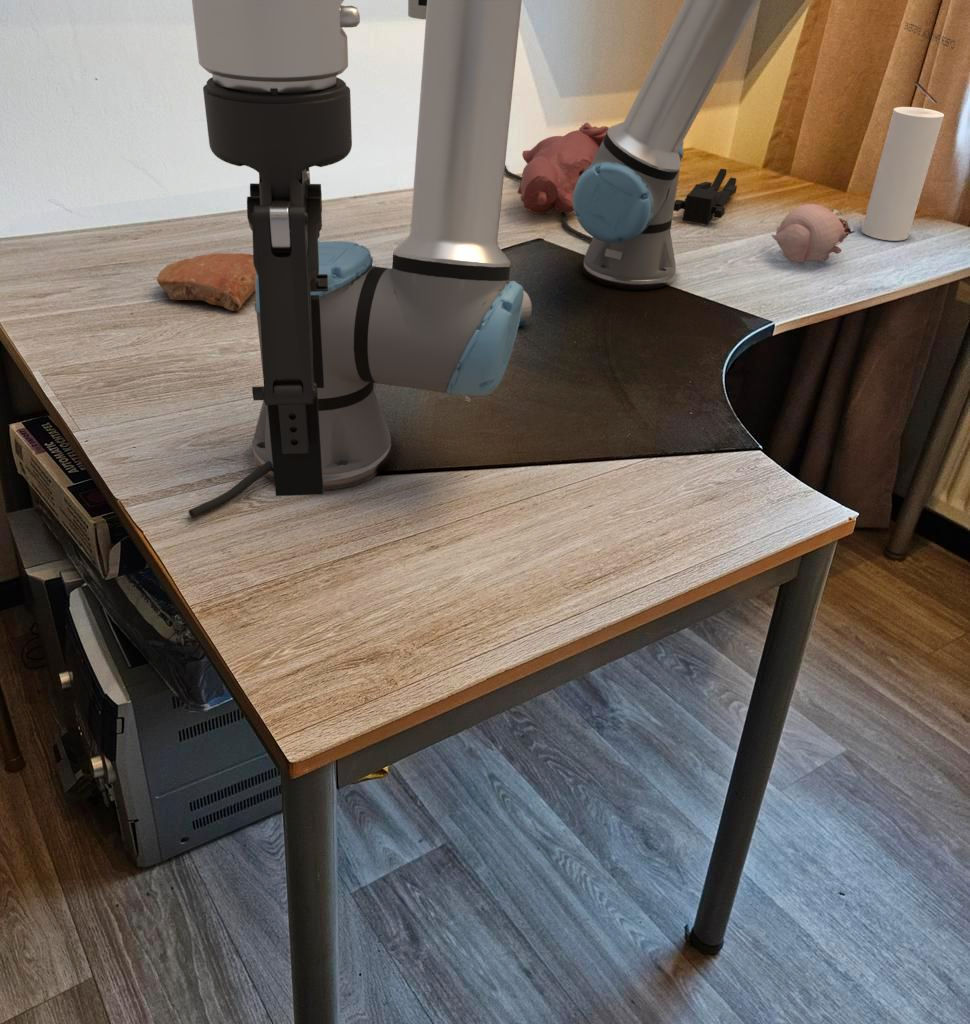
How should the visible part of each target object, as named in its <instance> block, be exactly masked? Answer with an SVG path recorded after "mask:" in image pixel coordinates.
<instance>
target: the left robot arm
mask: <svg viewBox="0 0 970 1024" xmlns="http://www.w3.org/2000/svg"><path fill="white" fill-rule="evenodd" d="M343 2H345V0H191V3H192V13H193V22H194V23H193V24H194V31H195V40H196V50H197V58H198V64H199V66H200V67H202V68H203V69H204V70H205V71H206V72H208V73H209V74H211V75H212V77H210V78H209V79H208V80H207V81H206V84H204V86H203V87H202V93H203V100H204V111H205V118H206V125H207V126H206V127H207V136H208V145H209V149H210V150H211V153H212V154H213V155H214V156H215V157H216V158H218V159H219V160H220V161H223V162H225V163H228V165H229V164H230V165H233V166H236V167H242V166H243V167H244V166H245V167H247V168H250V169H253V170H254V171H256V172H257V173H258V179H259V181H258V183H249V196H246V212H247V213H246V217H247V221H248V225H249V229H250V230H251V231H252V255H253V263H254V267H255V270H256V277H255V289H256V290H255V303H254V306H253V307H254V311H255V312H256V321H257V331H258V340H259V342H258V343H259V349H260V359H261V369H262V379H263V386H251V391H252V398H253V401H262V404H261V408H260V412H259V415H258V419H257V423H256V427H255V430H254V434H253V438H252V442H251V443H252V455H253V460H254V464H255V467H256V469H255V470H254V471H252V472H251V473H249V474H248V475H246V476H245V477H244V478H242V480H240V481H239V482H237V484H235V485H234V486H233V487H231V488H230V489H229V490H227V491H225V492H224V493H222V494H221V495H219V496H217V497H215V498H212V499H211V500H209V501H206V502H203V503H202V504H199V505H197V506H194V507H193V508H191V509H188V514H189V516H190V518H191V519H193V520H194V519H196V518H199V517H200V516H203V515H204V514H207V513H208V512H211V511H213V510H216V509H217V508H219V507H221V506H224V505H226V504H227V503H229V502H230V501H233V500H234V499H235V498H237V497H238V496H239V495H241V494H242V493H243V492H245V491H246V490H247V489H248V488H250V487H251V486H252V485H253V484H254V483H256V482H257V481H258V480H260V479H261V478H262V477H264V476H265V477H266V478H268V479H269V480H271V481H273V482H274V492H275V493H274V494H275V497H289V496H290V497H292V496H318V495H324V490H327V491H328V490H337V489H342V488H348V487H351V486H355V485H358V484H361V483H363V482H366V481H368V480H370V479H373V478H374V477H375V476H377V475H378V474H380V473H381V472H382V471H383V470H384V469H385V468H386V467H387V466H388V464H389V463H390V461H391V458H392V434H391V431H390V430H389V427H388V424H387V422H386V419H385V417H384V413H383V411H382V408H381V406H380V403H379V400H378V398H377V395H376V393H375V385H374V384H377V385H378V384H379V385H385V386H386V385H387V386H394V387H402V388H409V389H410V388H411V389H417V390H424V391H430V392H438V393H444V394H446V396H449V397H452V396H454V395H458V396H459V395H460V396H471V397H484V396H485V397H486V396H488V395H490V394H491V393H493V392H494V391H495V390H496V389H497V387H498V386H499V385H500V384H501V382H502V380H503V377H504V376H505V373H506V371H507V368H508V365H509V362H510V359H511V357H512V352H513V350H514V347H515V343H516V339H517V335H518V331H519V327H520V326H519V322H520V317H521V312H522V301H523V296H524V292H523V290H524V287H523V286H522V285H521V284H519V283H518V282H517V281H516V280H510V274H511V265H512V264H511V263H512V262H511V261H510V259H509V258H508V257H507V255H506V254H505V252H504V251H503V250H502V249H501V247H500V246H499V241H498V238H499V230H500V221H501V220H500V218H501V211H502V210H501V208H502V200H503V189H504V180H505V172H504V170H505V164H506V161H507V160H506V159H507V151H508V150H507V149H508V139H509V131H510V129H509V128H510V121H511V111H512V110H511V109H512V102H513V101H512V100H513V90H514V89H513V88H514V81H515V72H516V60H517V50H518V42H519V41H518V40H519V31H520V21H521V12H522V2H523V1H522V0H427V11H426V20H425V24H424V40H423V53H422V66H421V67H422V68H421V78H420V79H421V80H420V95H419V107H418V119H417V120H418V122H417V135H416V149H415V150H416V151H415V162H414V163H415V164H414V175H413V176H414V177H413V189H412V204H411V215H410V216H411V217H410V230H409V231H410V233H409V234H408V236H407V238H405V240H403V241H402V242H400V244H399V245H398V246H396V248H395V249H393V253H392V264H391V267H382V266H381V267H380V266H374V265H373V264H374V263H373V262H374V258H373V256H372V254H371V252H370V250H369V249H368V248H367V247H366V246H365V245H360V244H359V243H357V242H353V241H352V242H351V241H346V240H345V241H343V240H328V241H319V238H320V236H321V230H322V228H323V216H322V213H323V197H322V195H323V194H322V184H321V183H311V174H310V173H311V172H310V168H312V167H317V168H324V167H328V166H331V165H334V164H337V163H338V162H341V161H343V160H344V159H345V158H347V157H348V156H349V154H350V153H351V150H352V145H353V136H352V135H353V133H352V131H353V130H352V105H351V104H352V102H351V101H352V100H351V88H350V87H349V86H348V85H347V82H346V81H344V80H343V79H341V78H340V77H338V76H340V75H341V74H343V73H344V72H345V71H346V69H348V68H349V48H348V44H349V43H348V35H347V34H346V31H345V30H344V29H343V28H357V27H358V25H359V24H360V23H361V15H360V13H359V10H358V7H357V6H354V5H342V4H343Z"/></svg>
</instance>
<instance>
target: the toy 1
mask: <svg viewBox="0 0 970 1024" xmlns="http://www.w3.org/2000/svg"><path fill="white" fill-rule="evenodd" d="M727 171H728V170H727V169H726V168H720V169H719V171H718V173H717V175H716V177H715V178H714V180H713V182H710V181H704V182H700V183H697V184H695V185H694V187H693V188H692V190H691V191H690V192H688V193H687V195H686V197H685V198H684V200H683V199H675V204H674V211H673V212H680V210H683V216H682V221H683V222H687V223H693V224H699V225H706V226H707V225H709V223H711V221H712V220H713V218H716V219H722V217H723V216H724V215H725V212H726V204H727V203H728V201H729V199H730V198H731V197H732V196H734V195H735V194H736V193H737V188H738V185H736V182H737V177H732V176H731V177H730V178H729V179H728V180H727V182H726V183H725V185H724V187H723V188H722V190H719V189H720V188H721V186H722V184H723V181H724V180H725V178H726V176H727Z"/></svg>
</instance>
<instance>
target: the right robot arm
mask: <svg viewBox="0 0 970 1024" xmlns="http://www.w3.org/2000/svg"><path fill="white" fill-rule="evenodd" d="M760 2H761V0H684V1H683V3H682V5H681V7H680V9H679V11H678V13H677V14H676V17H675V18H674V21H673V23H672V25H671V27H670V29H669V30H668V33H667V35H666V37H665V39H664V41H663V43H662V45H661V46H660V49H659V51H658V53H657V55H656V57H655V59H654V60H653V63H652V64H651V67H650V68H649V71H648V73H647V74H646V76H645V79H644V80H643V83H642V85H641V87H640V89H639V91H638V93H637V95H636V97H635V98H634V101H633V103H632V105H631V107H630V109H629V110H628V114H627V115H626V117H625V119H624V120H623V121H622V122H620V123H617V124H614V125H611V126H610V127H609V129H608V131H607V133H606V135H605V137H604V139H603V141H602V143H601V145H600V147H599V149H598V151H597V153H596V155H595V157H594V159H593V161H592V163H591V165H590V167H589V168H588V169H586V170H585V171H584V172H583V174H581V176H580V177H579V179H578V181H577V184H576V186H575V189H574V193H573V208H574V211H573V212H574V214H575V217H576V220H577V222H578V223H579V225H580V226H581V228H582V229H583V230H584V231H585V232H586V233H587V234H588V235H587V234H585V233H583V232H581V231H579V230H577V229H575V228H573V227H572V226H571V225H569V224H568V217H567V213H564V212H560V214H561V217H562V226H563V227H564V228H565V230H567V231H568V232H569V233H570V234H572V235H575V236H576V237H578V238H581V239H583V240H585V241H587V242H590V243H589V245H588V248H587V250H586V252H585V255H584V258H583V264H582V272H583V274H584V275H585V276H586V277H587V278H589V279H590V280H592V281H594V282H596V283H599V284H602V285H604V286H608V287H612V288H616V289H623V290H636V291H637V290H640V291H641V290H642V291H643V290H645V291H646V290H654V289H660V288H663V287H666V286H668V285H670V284H671V283H673V282H674V280H675V277H676V271H677V266H676V265H677V264H676V258H675V253H674V246H673V240H672V233H671V232H672V231H671V229H672V221H673V216H674V212H675V211H674V204H675V201H676V196H677V190H678V184H679V178H680V173H681V172H680V171H681V167H682V159H683V158H684V140H685V138H686V137H687V135H688V133H689V132H690V130H691V127H692V125H693V124H694V122H695V120H696V118H697V116H698V114H699V113H700V111H701V109H702V107H703V105H704V103H705V102H706V100H707V98H708V96H709V95H710V92H711V91H712V89H713V88H714V86H715V84H716V82H717V80H718V78H719V76H720V74H721V72H722V71H723V69H724V67H725V65H726V63H727V61H728V60H729V58H730V56H731V54H732V52H733V51H734V49H735V47H736V45H737V43H738V42H739V40H740V38H741V36H742V35H743V33H744V30H745V29H746V27H747V25H748V23H749V21H750V19H751V18H752V16H753V14H754V12H755V10H756V8H757V7H758V5H759V3H760ZM418 5H420V6H427V0H418ZM504 174H505V175H507V176H508V177H510V178H512V179H515V180H517V181H520V182H521V180H522V176H520V175H517V174H515V173H513V172H511V171H509V170H508V168H507V165H505V170H504Z"/></svg>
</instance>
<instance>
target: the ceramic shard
mask: <svg viewBox="0 0 970 1024" xmlns="http://www.w3.org/2000/svg"><path fill="white" fill-rule="evenodd" d="M255 277H256V270H255V267H254V263H253V254H251V253H210V254H203V255H196V256H194V257H191V258H184V259H181V260H178V261H176V262H173V263H169V264H167V265H166V266H165V267H164V268H163V269H162V270H160V272H159V273H158V275H157V277H156V282H157V284H158V285H159V286H160V287H161V288H162V289H163V290H164V291H165V293H166V295H167V296H168V297H169V299H170V300H171V301H204V302H206V303H207V304H209V305H214V306H218V307H219V306H220V307H222V308H224V309H226V310H228V311H231V312H232V311H233V312H236V311H239V310H240V309H241V308H242V307H243V305H244V304H245V302H246V301H247V300H248V299H249V298H250V297H251V296H252V294H253V293H255V292H256V289H255Z"/></svg>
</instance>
